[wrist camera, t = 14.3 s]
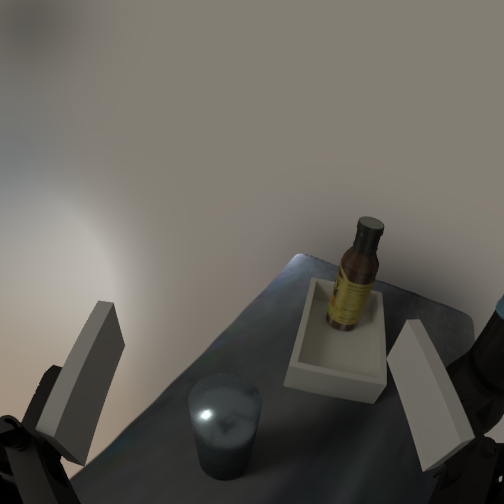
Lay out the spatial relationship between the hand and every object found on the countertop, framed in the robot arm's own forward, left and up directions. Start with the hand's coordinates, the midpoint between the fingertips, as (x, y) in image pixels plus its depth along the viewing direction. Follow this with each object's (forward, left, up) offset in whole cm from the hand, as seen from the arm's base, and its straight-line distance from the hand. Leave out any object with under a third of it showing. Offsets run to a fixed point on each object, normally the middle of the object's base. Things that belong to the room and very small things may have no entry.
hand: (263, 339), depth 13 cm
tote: (-21, -20, -27) cm, 40 cm away
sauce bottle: (-24, -25, -27) cm, 43 cm away
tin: (+1, -4, -27) cm, 28 cm away
